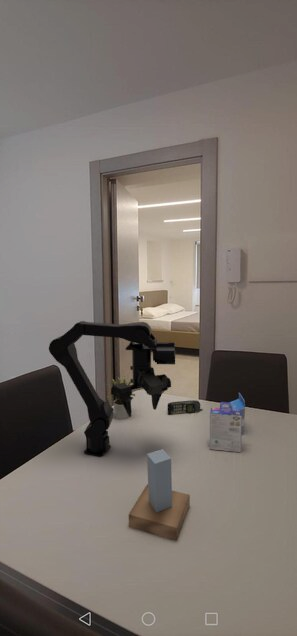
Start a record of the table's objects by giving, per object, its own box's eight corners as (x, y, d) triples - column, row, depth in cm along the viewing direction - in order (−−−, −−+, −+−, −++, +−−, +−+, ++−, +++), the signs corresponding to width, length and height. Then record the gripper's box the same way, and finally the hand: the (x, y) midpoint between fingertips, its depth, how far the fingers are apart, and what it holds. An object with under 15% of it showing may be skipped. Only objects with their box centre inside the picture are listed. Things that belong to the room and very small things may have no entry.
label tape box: (227, 423, 121) (228, 391, 119) (238, 423, 120) (239, 391, 119) (233, 434, 112) (233, 401, 110) (244, 434, 112) (245, 401, 110)
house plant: (148, 411, 131) (148, 373, 129) (136, 426, 118) (135, 384, 116) (116, 407, 136) (116, 370, 134) (101, 421, 123) (100, 380, 121)
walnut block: (128, 528, 71) (128, 514, 70) (147, 497, 81) (147, 484, 81) (176, 543, 67) (176, 528, 66) (189, 508, 77) (189, 494, 77)
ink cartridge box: (240, 444, 106) (241, 401, 104) (241, 453, 100) (243, 408, 98) (209, 441, 107) (210, 399, 106) (209, 449, 102) (210, 406, 100)
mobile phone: (168, 404, 127) (204, 400, 130) (166, 401, 130) (201, 398, 133) (168, 416, 128) (204, 412, 130) (166, 413, 131) (201, 409, 133)
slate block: (156, 512, 71) (154, 463, 69) (148, 500, 74) (146, 453, 72) (172, 506, 73) (171, 458, 70) (163, 494, 76) (162, 449, 74)
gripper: (128, 375, 86) (129, 431, 88) (182, 364, 96) (182, 414, 98) (109, 366, 95) (110, 416, 97) (160, 357, 105) (160, 402, 107)
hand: (142, 412), depth 99 cm, fingers open, 9 cm apart
